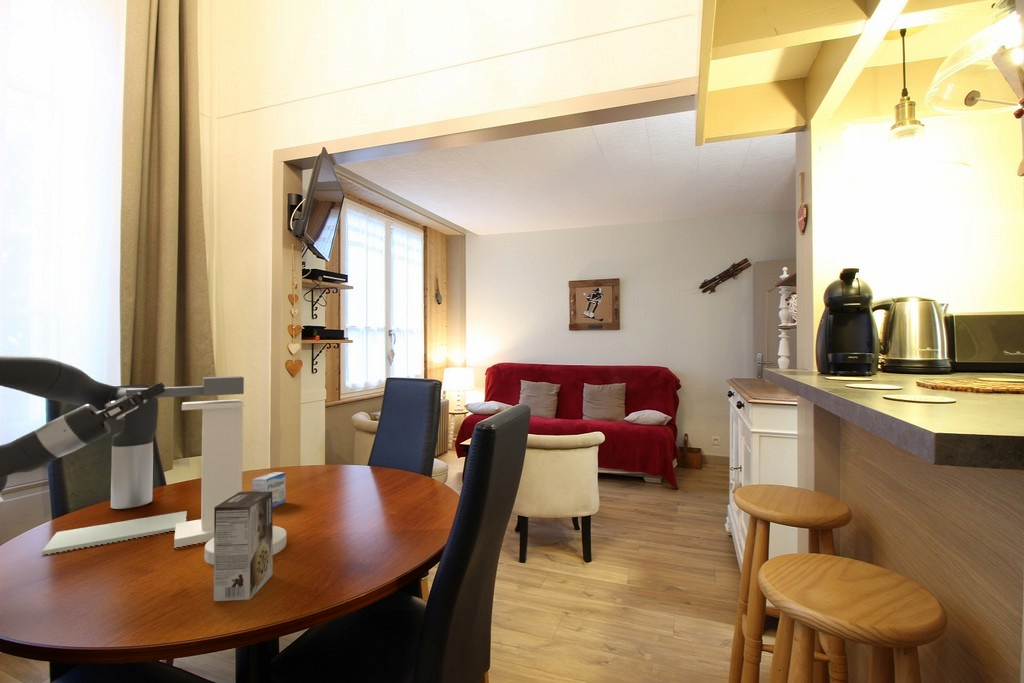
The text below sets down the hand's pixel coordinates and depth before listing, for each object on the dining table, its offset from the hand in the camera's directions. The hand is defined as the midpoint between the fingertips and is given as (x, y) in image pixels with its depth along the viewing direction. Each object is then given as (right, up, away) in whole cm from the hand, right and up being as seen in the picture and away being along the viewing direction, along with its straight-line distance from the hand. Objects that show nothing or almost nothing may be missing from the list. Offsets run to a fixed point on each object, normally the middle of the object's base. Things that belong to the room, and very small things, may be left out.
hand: (163, 386), depth 105 cm
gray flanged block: (+4, -2, +3) cm, 5 cm away
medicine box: (+12, -36, +24) cm, 45 cm away
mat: (-14, -36, +5) cm, 38 cm away
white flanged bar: (+8, -35, +4) cm, 37 cm away
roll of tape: (+22, -35, -5) cm, 42 cm away
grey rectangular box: (+31, -34, -22) cm, 52 cm away
